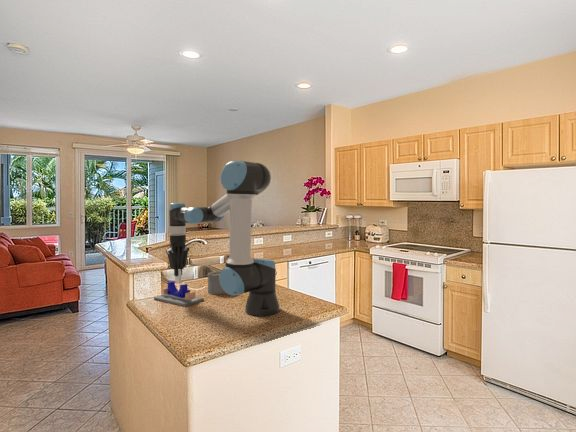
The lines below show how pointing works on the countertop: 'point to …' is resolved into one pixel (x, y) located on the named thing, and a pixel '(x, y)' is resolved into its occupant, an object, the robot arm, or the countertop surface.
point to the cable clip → (175, 292)
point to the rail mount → (188, 300)
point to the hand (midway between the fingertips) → (178, 282)
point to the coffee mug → (214, 283)
